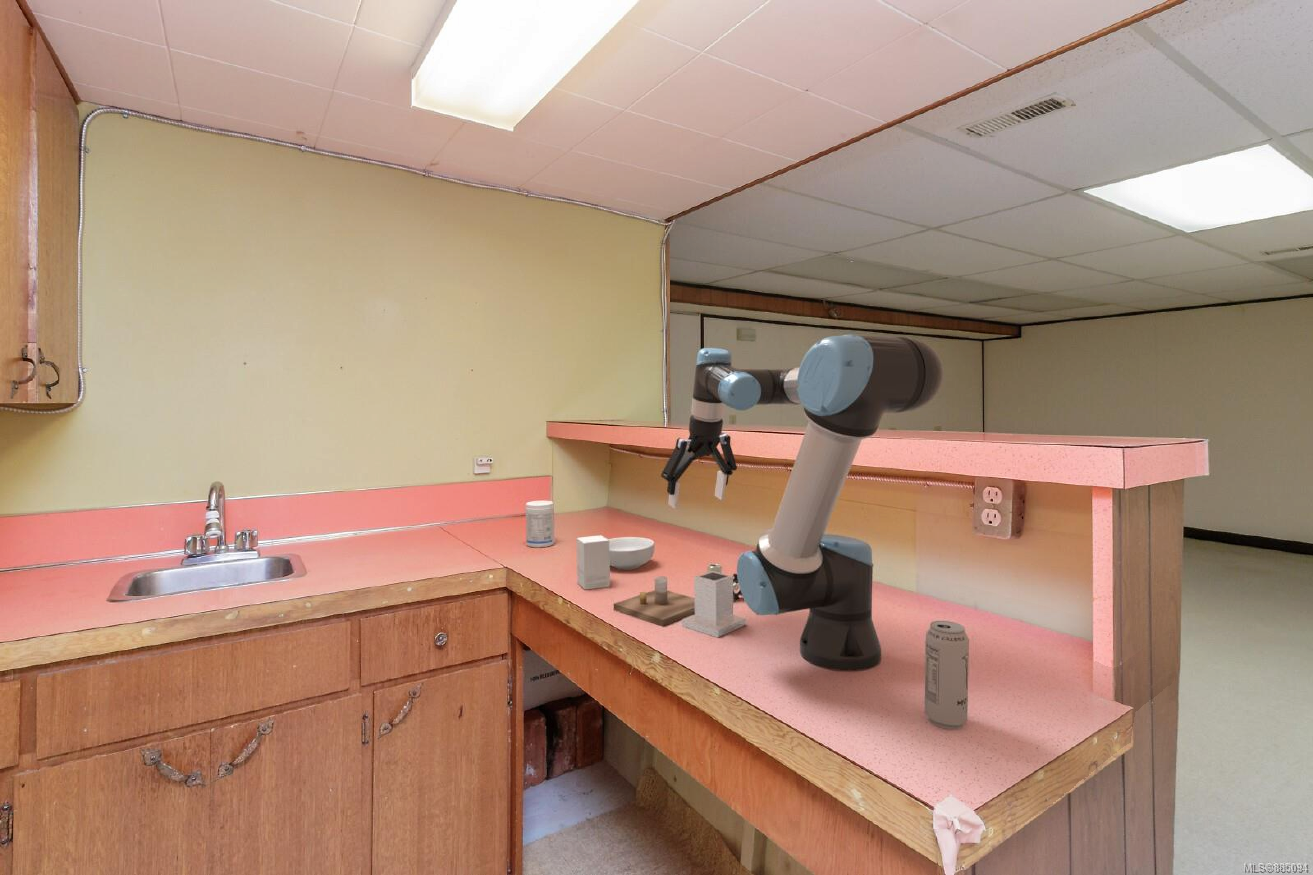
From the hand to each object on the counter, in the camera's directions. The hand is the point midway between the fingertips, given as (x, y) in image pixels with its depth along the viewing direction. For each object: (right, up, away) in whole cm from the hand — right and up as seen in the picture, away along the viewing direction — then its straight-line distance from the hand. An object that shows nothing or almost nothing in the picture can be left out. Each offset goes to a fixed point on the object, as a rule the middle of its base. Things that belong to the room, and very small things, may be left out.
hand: (696, 502), depth 150 cm
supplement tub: (-49, -22, +67) cm, 86 cm away
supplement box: (-26, -25, +20) cm, 41 cm away
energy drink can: (+35, -29, -53) cm, 69 cm away
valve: (+8, -25, +11) cm, 28 cm away
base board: (-8, -25, 0) cm, 27 cm away
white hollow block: (+3, -26, -11) cm, 28 cm away
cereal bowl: (-18, -23, +39) cm, 49 cm away
